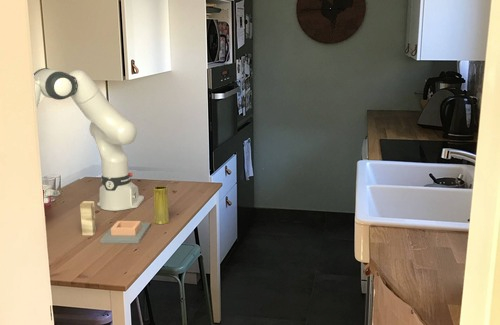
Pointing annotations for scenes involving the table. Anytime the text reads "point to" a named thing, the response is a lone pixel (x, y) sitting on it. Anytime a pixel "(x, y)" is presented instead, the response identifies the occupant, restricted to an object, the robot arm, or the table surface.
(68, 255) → the table surface
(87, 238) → the table surface
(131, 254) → the table surface
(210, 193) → the table surface
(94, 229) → the oak post
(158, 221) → the vase
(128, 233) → the socket board
